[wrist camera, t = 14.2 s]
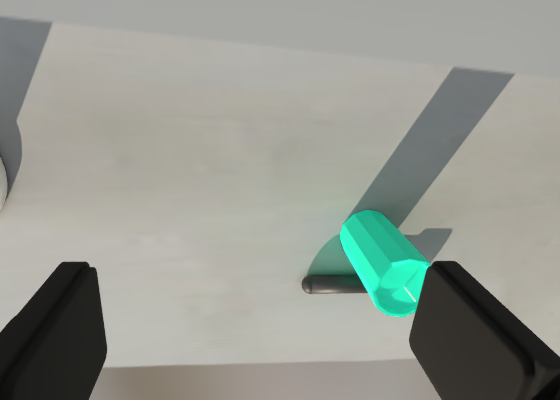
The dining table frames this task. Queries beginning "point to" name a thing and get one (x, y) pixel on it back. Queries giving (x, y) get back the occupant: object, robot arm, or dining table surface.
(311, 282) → the marker
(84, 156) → the dining table surface
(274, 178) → the dining table surface
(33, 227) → the dining table surface
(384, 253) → the candle
